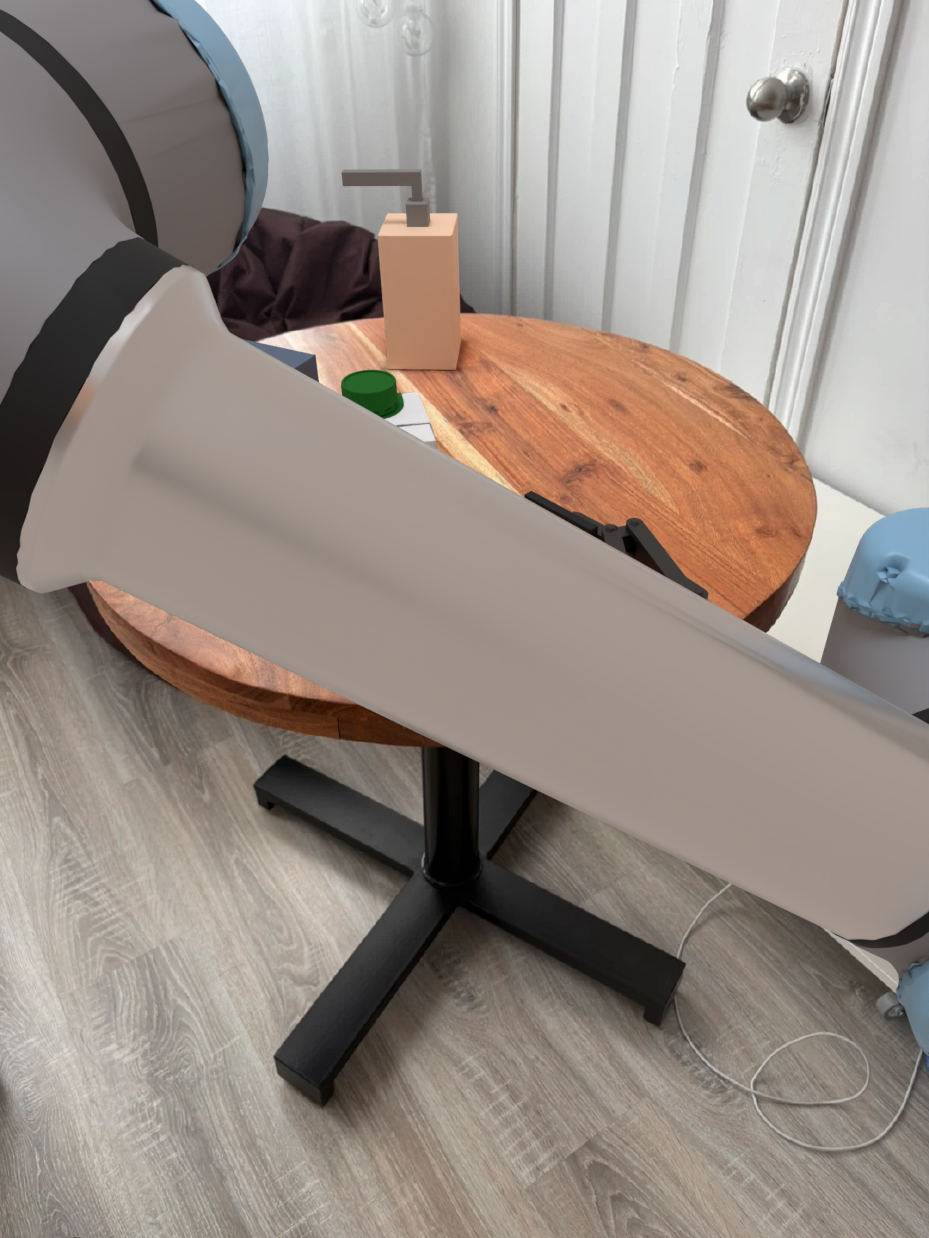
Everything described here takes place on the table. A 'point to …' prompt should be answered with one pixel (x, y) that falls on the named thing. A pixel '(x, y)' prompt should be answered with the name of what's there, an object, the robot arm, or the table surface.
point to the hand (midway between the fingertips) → (458, 544)
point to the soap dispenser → (417, 276)
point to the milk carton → (389, 402)
